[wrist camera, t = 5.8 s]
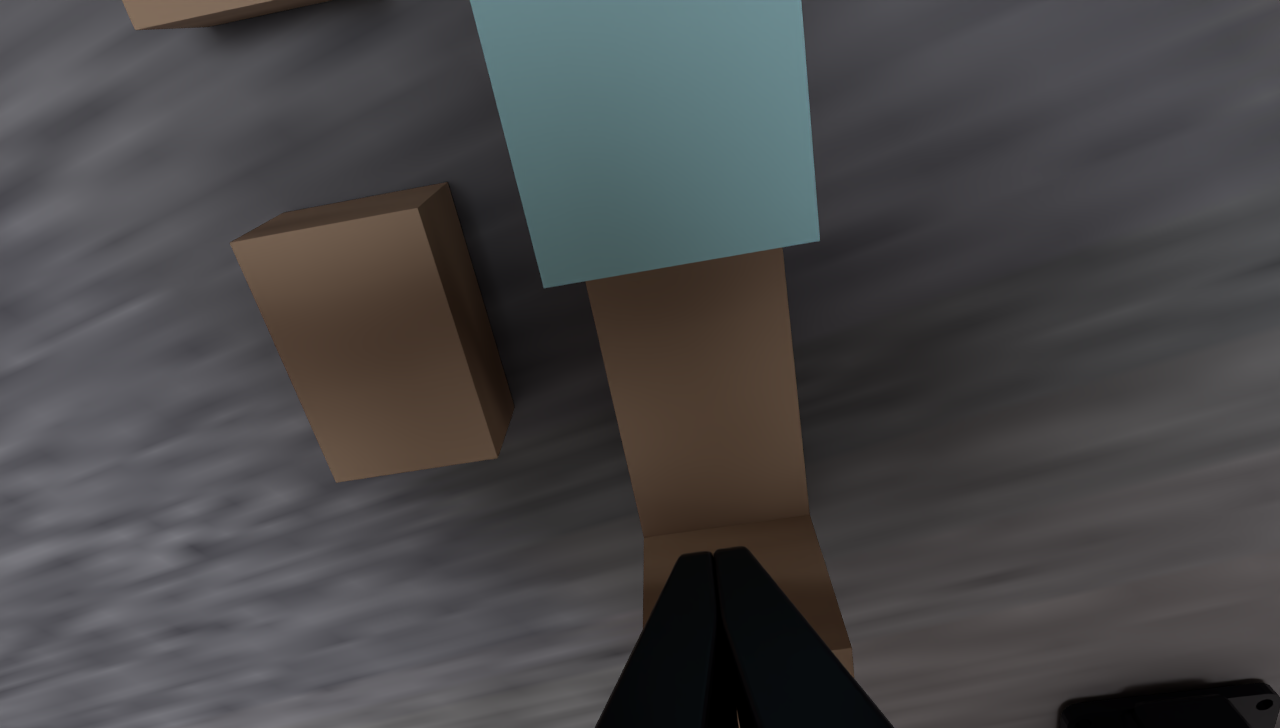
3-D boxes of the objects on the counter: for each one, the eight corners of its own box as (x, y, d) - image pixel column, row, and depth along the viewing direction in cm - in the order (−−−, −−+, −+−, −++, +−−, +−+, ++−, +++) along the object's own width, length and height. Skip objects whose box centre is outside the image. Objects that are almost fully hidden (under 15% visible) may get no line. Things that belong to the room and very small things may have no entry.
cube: (775, 180, 14) (819, 240, 10) (570, 217, 14) (543, 287, 11) (751, -59, 12) (794, -87, 8) (518, -9, 12) (466, -17, 9)
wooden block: (798, 518, 20) (857, 719, 15) (657, 537, 21) (660, 741, 15) (722, -171, 13) (777, -305, 8) (512, -124, 14) (413, -218, 8)
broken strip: (514, 407, 19) (497, 458, 17) (370, 430, 20) (336, 482, 17) (273, -406, 12) (192, -493, 10) (57, -347, 13) (-64, -420, 10)
